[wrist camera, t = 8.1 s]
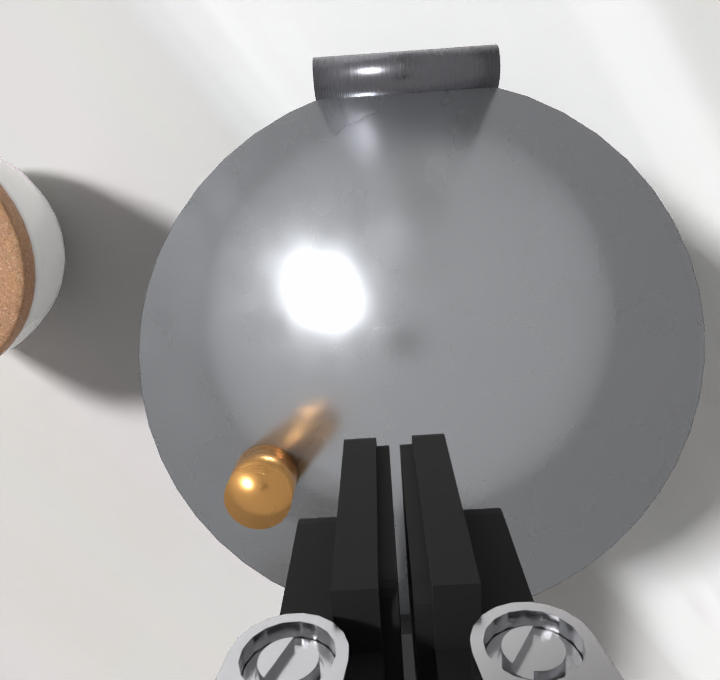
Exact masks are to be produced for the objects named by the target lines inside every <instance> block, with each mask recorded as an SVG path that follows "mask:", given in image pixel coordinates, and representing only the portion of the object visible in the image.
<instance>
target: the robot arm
mask: <svg viewBox="0 0 720 680" xmlns="http://www.w3.org/2000/svg"><path fill="white" fill-rule="evenodd" d="M400 461H401V477H402V494H403V510H404V527H405V543H406V560H407V576H408V592H409V605H410V618H411V630H412V642H413V655H414V667H415V679H416V680H624V679H623V677H622V676H621V674H620V673H619V672H618V670H617V669H616V667H615V666H614V664H613V663H612V661H611V660H610V658H609V657H608V655H607V654H606V652H605V651H604V649H603V648H602V646H601V645H600V643H599V642H598V640H597V639H596V637H595V636H594V634H593V633H592V632H591V631H590V630H589V629H588V627H587V626H586V625H585V624H584V623H583V622H582V621H581V620H579V619H578V618H576V617H574V616H573V615H571V614H570V613H568V612H567V611H564V610H561V609H559V608H556V607H553V606H550V605H547V604H540V603H534V601H533V598H532V595H531V592H530V589H529V586H528V584H527V581H526V578H525V575H524V572H523V569H522V566H521V564H520V561H519V558H518V555H517V552H516V549H515V546H514V544H513V541H512V538H511V535H510V532H509V529H508V526H507V524H506V521H505V518H504V515H503V512H502V510H501V508H483V509H465V510H463V508H462V504H461V500H460V496H459V492H458V488H457V484H456V480H455V475H454V471H453V467H452V463H451V459H450V455H449V451H448V447H447V443H446V439H445V435H444V433H443V434H426V435H412V444H402V445H400ZM215 680H404V668H403V652H402V635H401V619H400V602H399V586H398V571H397V556H396V541H395V525H394V510H393V495H392V479H391V464H390V449H389V445H385V446H377V441H376V438H359V439H344V444H343V455H342V466H341V477H340V488H339V499H338V510H337V517H319V518H301V519H299V520H298V524H297V528H296V534H295V539H294V544H293V549H292V554H291V560H290V565H289V570H288V575H287V581H286V586H285V591H284V596H283V601H282V607H281V612H280V616H276V617H272V618H268V619H266V620H264V621H262V622H260V623H258V624H256V625H254V626H252V627H250V628H249V629H248V630H247V631H246V632H244V633H243V634H242V635H241V636H240V637H238V638H237V640H236V641H235V643H234V644H233V646H232V647H231V649H230V650H229V652H228V654H227V656H226V658H225V660H224V662H223V664H222V666H221V668H220V670H219V673H218V675H217V677H216V679H215Z"/></svg>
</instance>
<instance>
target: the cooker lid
mask: <svg viewBox="0 0 720 680" xmlns="http://www.w3.org/2000/svg"><path fill="white" fill-rule="evenodd" d="M313 79H314V90H315V97H316V101H314V102H312V103H310V104H308V105H305V106H303V107H301V108H299V109H296V110H294V111H292V112H289V113H288V114H286V115H284V116H283V117H281V118H280V119H278V120H276V121H275V122H273V123H271V124H270V125H268V126H267V127H265V128H263V129H262V130H260V131H258V132H257V133H255V134H254V135H253V136H251V137H250V138H249V139H248V140H247V141H245V142H244V143H243V144H242V145H241V146H239V147H238V148H237V149H236V150H235V151H233V152H232V153H231V154H230V155H228V156H227V157H226V158H225V159H224V160H223V161H222V162H221V163H220V164H219V165H218V166H217V167H216V168H215V170H214V171H213V172H212V173H211V174H210V175H209V176H208V177H207V178H206V179H205V181H204V182H203V183H202V184H201V185H200V186H199V187H198V188H197V190H196V191H195V193H194V194H193V195H192V197H191V198H190V200H189V201H188V203H187V204H186V206H185V207H184V209H183V210H182V211H181V213H180V214H179V216H178V217H177V219H176V220H175V222H174V224H173V226H172V228H171V230H170V232H169V234H168V236H167V238H166V240H165V242H164V244H163V246H162V248H161V250H160V252H159V255H158V258H157V261H156V264H155V267H154V270H153V273H152V276H151V279H150V282H149V285H148V288H147V293H146V298H145V303H144V309H143V314H142V319H141V327H140V347H139V366H140V377H141V389H142V396H143V401H144V405H145V410H146V414H147V419H148V423H149V427H150V430H151V433H152V435H153V438H154V441H155V444H156V446H157V449H158V452H159V454H160V457H161V460H162V462H163V463H164V465H165V467H166V469H167V471H168V473H169V475H170V477H171V479H172V481H173V482H174V484H175V486H176V488H177V490H178V491H179V493H180V494H181V495H182V497H183V498H184V500H185V501H186V503H187V504H188V505H189V507H190V508H191V510H192V511H193V513H194V514H195V515H196V517H197V518H198V519H199V520H200V521H201V522H202V523H203V524H204V525H205V527H206V528H207V529H208V530H209V531H210V532H211V533H212V534H213V535H214V536H215V538H216V539H217V540H218V541H219V542H220V543H222V544H223V545H224V546H225V547H226V548H227V549H229V550H230V551H231V552H232V553H233V554H234V555H236V556H237V557H238V558H239V559H240V560H241V561H243V562H244V563H245V564H247V565H248V566H250V567H251V568H253V569H254V570H256V571H257V572H259V573H260V574H262V575H263V576H265V577H266V578H268V579H269V580H271V581H272V582H274V583H276V584H278V585H280V586H282V587H284V588H285V586H286V581H287V575H288V570H289V565H290V560H291V554H292V549H293V544H294V539H295V534H296V528H297V524H298V520H299V519H301V518H319V517H337V510H338V499H339V488H340V477H341V466H342V455H343V444H344V439H359V438H376V441H377V446H385V445H389V449H390V464H391V479H392V495H393V510H394V525H395V541H396V556H397V571H398V586H399V602H400V619H401V635H402V652H403V668H404V680H416V679H415V667H414V655H413V642H412V630H411V618H410V605H409V592H408V576H407V560H406V543H405V527H404V510H403V494H402V477H401V461H400V445H402V444H412V435H426V434H443V433H444V435H445V439H446V443H447V447H448V451H449V455H450V459H451V463H452V467H453V471H454V475H455V480H456V484H457V488H458V492H459V496H460V500H461V504H462V508H463V510H465V509H483V508H501V510H502V512H503V515H504V518H505V521H506V524H507V526H508V529H509V532H510V535H511V538H512V541H513V544H514V546H515V549H516V552H517V555H518V558H519V561H520V564H521V566H522V569H523V572H524V575H525V578H526V581H527V584H528V586H529V589H530V592H531V595H532V596H534V595H536V594H538V593H540V592H542V591H545V590H547V589H549V588H551V587H553V586H555V585H557V584H559V583H561V582H562V581H564V580H566V579H567V578H569V577H570V576H572V575H574V574H575V573H577V572H578V571H580V570H582V569H583V568H585V567H587V566H588V565H589V564H590V563H592V562H593V561H594V560H595V559H597V558H598V557H599V556H600V555H602V554H603V553H604V552H605V551H607V550H608V549H609V548H611V547H612V546H613V545H614V544H615V543H616V542H617V541H618V540H619V539H620V538H621V537H622V536H623V535H624V534H625V533H626V532H627V531H628V530H629V529H630V528H631V527H632V526H633V525H634V524H635V523H636V522H637V521H638V520H639V518H640V517H641V516H642V514H643V513H644V512H645V511H646V509H647V508H648V507H649V505H650V504H651V503H652V501H653V500H654V499H655V498H656V496H657V495H658V494H659V492H660V490H661V489H662V487H663V485H664V484H665V482H666V480H667V478H668V477H669V475H670V473H671V472H672V470H673V468H674V467H675V465H676V463H677V461H678V458H679V456H680V454H681V451H682V449H683V447H684V444H685V442H686V440H687V437H688V435H689V432H690V429H691V426H692V422H693V419H694V415H695V412H696V408H697V404H698V401H699V397H700V390H701V382H702V375H703V368H704V321H703V314H702V307H701V300H700V293H699V288H698V285H697V281H696V278H695V275H694V271H693V268H692V264H691V261H690V257H689V254H688V252H687V250H686V248H685V245H684V243H683V241H682V239H681V237H680V235H679V232H678V230H677V228H676V226H675V224H674V221H673V220H672V218H671V217H670V215H669V213H668V212H667V210H666V209H665V207H664V206H663V204H662V203H661V201H660V199H659V198H658V196H657V195H656V193H655V192H654V190H653V189H652V188H651V186H650V185H649V184H648V183H647V182H646V181H645V179H644V178H643V177H642V176H641V175H640V174H639V173H638V171H637V170H636V169H635V168H634V167H633V166H632V165H631V163H630V162H629V161H628V160H627V159H626V158H625V157H624V156H622V155H621V154H620V153H619V152H618V151H617V150H615V149H614V148H613V147H612V146H611V145H610V144H608V143H607V142H606V141H605V140H604V139H603V138H601V137H600V136H599V135H598V134H596V133H595V132H593V131H592V130H590V129H589V128H587V127H585V126H584V125H582V124H581V123H579V122H577V121H576V120H574V119H573V118H571V117H570V116H568V115H566V114H565V113H563V112H561V111H559V110H556V109H554V108H552V107H550V106H547V105H545V104H543V103H541V102H539V101H536V100H534V99H532V98H530V97H527V96H524V95H521V94H517V93H514V92H510V91H507V90H503V89H500V88H498V85H499V79H500V54H499V48H498V45H483V46H469V47H455V48H441V49H428V50H414V51H400V52H386V53H372V54H358V55H344V56H330V57H316V58H313Z"/></svg>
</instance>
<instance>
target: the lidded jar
mask: <svg viewBox="0 0 720 680" xmlns="http://www.w3.org/2000/svg"><path fill="white" fill-rule="evenodd" d="M64 267H65V247H64V242H63V236H62V232H61V229H60V226H59V223H58V220H57V218H56V216H55V214H54V212H53V210H52V208H51V206H50V204H49V203H48V201H47V200H46V198H45V197H44V196H43V194H42V193H41V191H40V190H39V189H38V188H37V187H36V186H35V185H34V184H33V183H32V182H31V181H30V180H29V178H28V177H27V176H26V175H25V174H23V173H22V172H21V171H20V170H18V169H17V168H16V167H15V166H13V165H12V164H11V163H9V162H7V161H6V160H4V159H2V158H1V157H0V356H1V355H2V354H4V353H6V352H7V351H9V350H10V349H12V348H13V347H15V346H16V345H18V344H19V343H20V342H21V341H22V340H24V339H25V338H26V337H27V336H28V335H29V334H30V333H31V332H32V331H33V330H35V329H36V328H37V327H38V325H39V324H40V323H41V321H42V320H43V319H44V317H45V316H46V315H47V313H48V312H49V311H50V309H51V308H52V306H53V304H54V302H55V300H56V298H57V296H58V293H59V290H60V287H61V283H62V280H63V275H64Z"/></svg>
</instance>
